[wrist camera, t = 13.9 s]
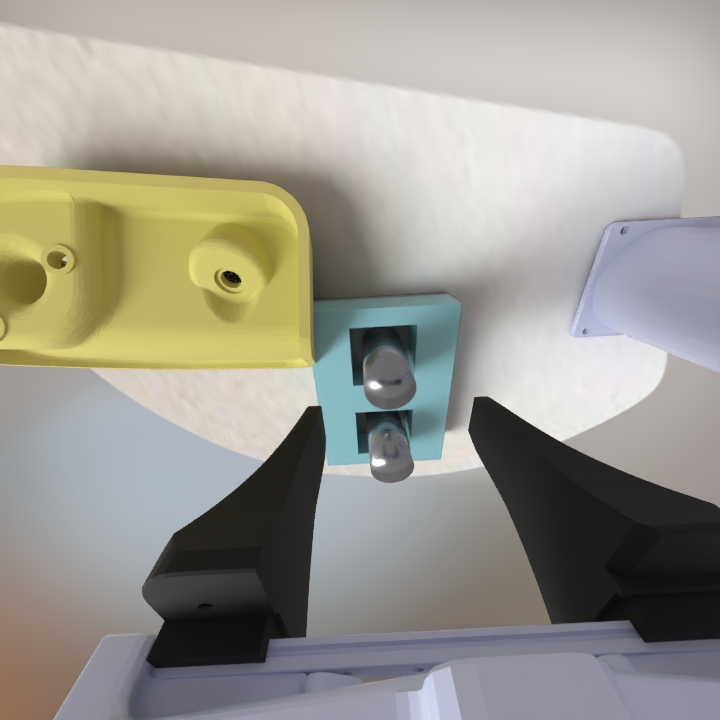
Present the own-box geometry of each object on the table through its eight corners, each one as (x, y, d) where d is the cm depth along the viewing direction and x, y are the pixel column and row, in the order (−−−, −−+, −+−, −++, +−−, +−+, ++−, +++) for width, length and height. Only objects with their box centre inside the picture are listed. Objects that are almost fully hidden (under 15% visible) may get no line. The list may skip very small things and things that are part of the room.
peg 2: (401, 400, 23) (418, 454, 17) (394, 426, 24) (408, 483, 19) (367, 397, 22) (374, 451, 17) (362, 424, 24) (367, 481, 18)
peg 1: (401, 357, 21) (417, 406, 15) (364, 362, 21) (367, 412, 16) (399, 322, 19) (415, 363, 14) (359, 328, 19) (360, 371, 14)
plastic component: (308, 183, 13) (310, 376, 14) (316, 243, 21) (318, 367, 21) (-156, 153, 11) (-140, 383, 12) (37, 232, 19) (43, 371, 19)
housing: (446, 292, 19) (462, 303, 16) (431, 434, 25) (440, 459, 23) (310, 299, 19) (304, 312, 16) (330, 440, 25) (328, 465, 23)
